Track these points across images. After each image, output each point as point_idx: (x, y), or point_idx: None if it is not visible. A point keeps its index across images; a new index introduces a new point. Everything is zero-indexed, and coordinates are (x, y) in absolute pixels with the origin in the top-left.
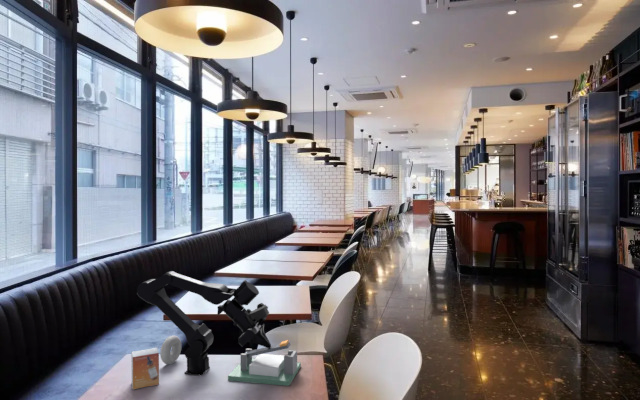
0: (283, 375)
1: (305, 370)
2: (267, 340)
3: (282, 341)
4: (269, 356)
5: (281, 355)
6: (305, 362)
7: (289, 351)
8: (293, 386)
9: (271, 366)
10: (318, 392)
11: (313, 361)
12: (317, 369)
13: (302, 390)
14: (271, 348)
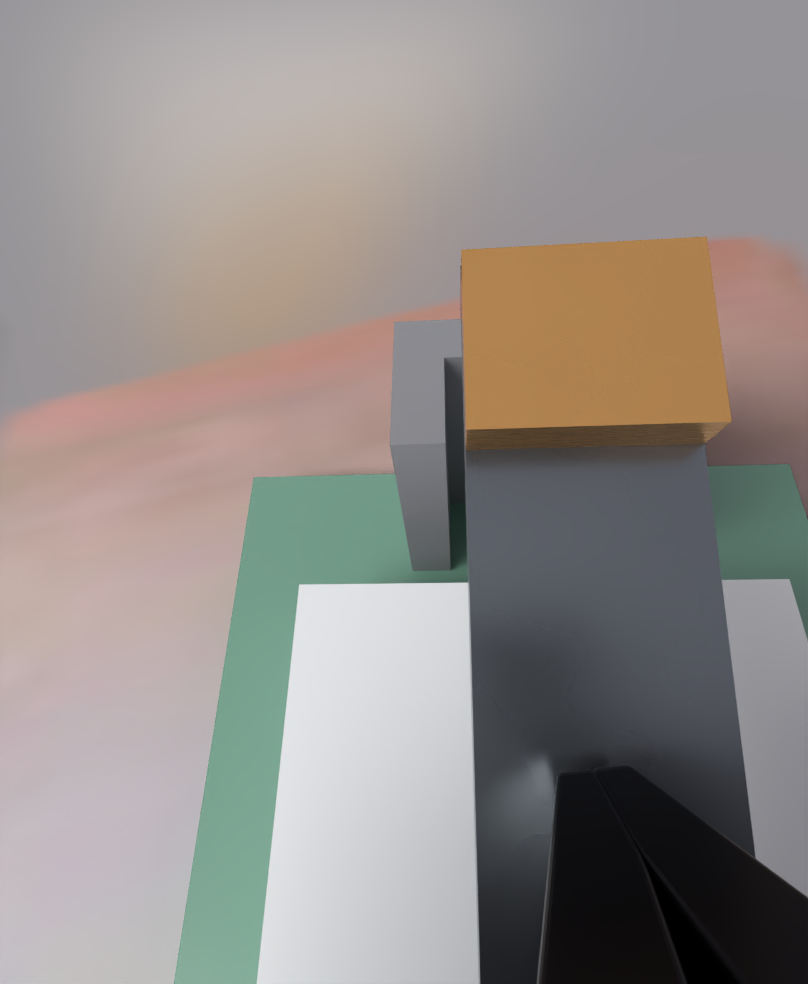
0: None
1: (357, 436)
2: (708, 916)
3: (485, 406)
4: (365, 907)
5: (293, 671)
6: (154, 484)
7: (444, 421)
8: (752, 449)
9: (795, 700)
10: (759, 250)
11: (131, 418)
12: (320, 347)
13: (789, 358)
14: (716, 709)
